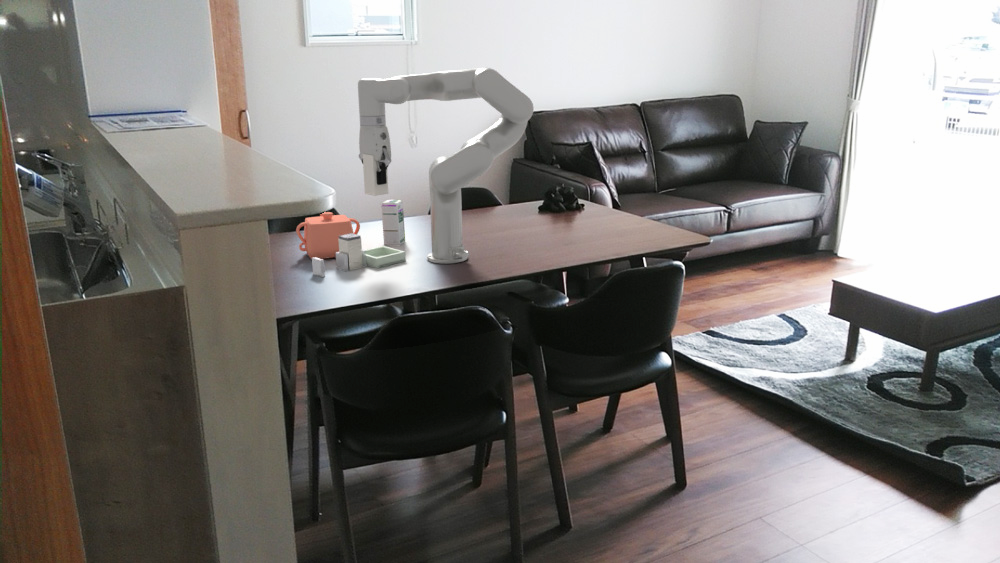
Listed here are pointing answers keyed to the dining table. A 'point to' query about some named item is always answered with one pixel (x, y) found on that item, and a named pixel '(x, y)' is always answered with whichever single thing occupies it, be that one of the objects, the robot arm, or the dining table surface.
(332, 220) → the teapot
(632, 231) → the dining table surface
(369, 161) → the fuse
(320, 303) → the dining table surface
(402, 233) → the syrup box
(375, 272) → the dining table surface
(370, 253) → the tray
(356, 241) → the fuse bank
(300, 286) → the dining table surface
